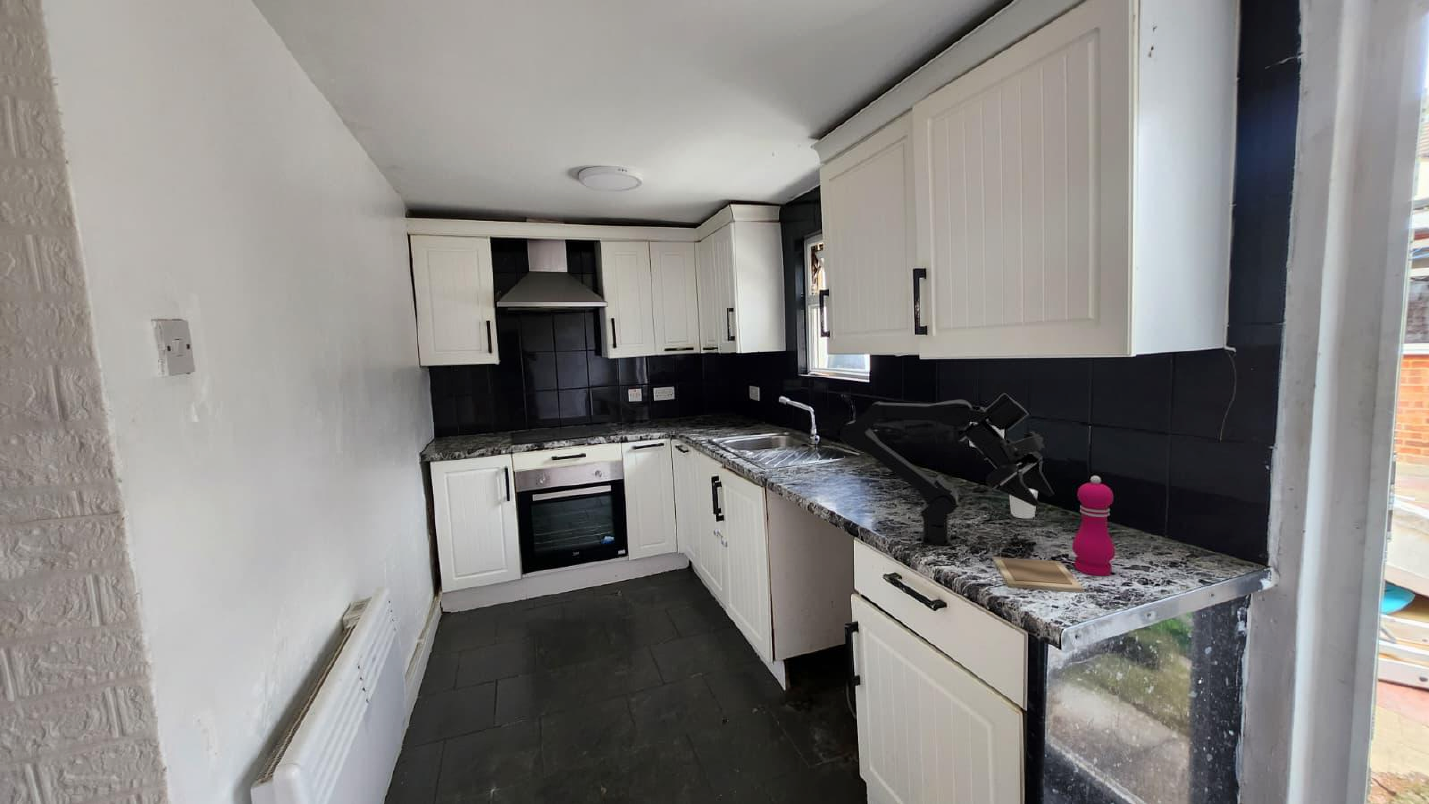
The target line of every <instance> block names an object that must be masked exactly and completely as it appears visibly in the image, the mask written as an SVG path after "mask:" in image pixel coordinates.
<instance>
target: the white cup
mask: <svg viewBox="0 0 1429 804" xmlns="http://www.w3.org/2000/svg"><path fill="white" fill-rule="evenodd" d="M1028 488H1029V487H1028ZM1029 490H1030V491H1031V492H1032V494H1033V495H1034V496H1035V498H1036V499H1037V500H1038V494H1039V490H1037V489H1035V488H1029ZM1008 495H1009V494H1008ZM1009 506H1010V515H1011V514H1012V515H1013V516H1012V515H1011V516H1012V517H1015V518H1019V519H1027V520H1028V519H1034V518H1035V516H1036V509H1037V506H1033V505H1031V504H1029V503H1026V502H1024V501H1022V500H1020V499H1018V498H1016V497H1014V496H1011V495H1009ZM1033 517H1034V518H1033Z"/></svg>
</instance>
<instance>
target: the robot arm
mask: <svg viewBox="0 0 1429 804" xmlns="http://www.w3.org/2000/svg"><path fill="white" fill-rule="evenodd" d="M1028 416H1030V413H1029V412H1027V410H1026V409H1025V408H1024V407H1023V406H1022V405H1020V404H1019V402H1018V401H1015V400H1014V399H1013V398H1011V397H1010V395H1008V394H1007V393H1005V392H1004V393H1002V394H1001V395H1000V396H998V398H997V399H996V400H995V401H994V402H993V403H991V404H990V405H989V406H988V407H983V406H978V405H972V404H971V403H970V402H968V401H967V400H965V399H954V400H946V401H941V402H936V403H934V402H933V403H906V402H905V403H904V402H903V403H901V402H884V401H883V402H882V401H876V402H874V403H873V404H871V405H870V407H869V408H868V409H867V410H866V411H865V412H864V413H863V414H862V415H860V416H859V417H858V418H857V419H856V420H855V419H854V420H852V421H849V422H848V423H846V424H844V426H842V427H841V429H840V433H839V434H840V440H841V442H842V443H843V444H845V445H846V446H849V448H852V449H854V450H856V451H858V452H861V453H864V454H867V455H869V456H871V457H872V458H873V459H874V460H876V461H877V462H878V463H880V464H881V465H883V466H884V467H885V468H886V469H888V470H889V471H890V472H892V473H893V474H894V475H895V476H897V477H899V478H900V479H901V480H902V481H904V482H906V483H907V484H908V485H909V486H911V487H912V488H913V489H915V490H916V491H917V492H918V493H919V495H920V496H921V498H922V499H923V501H924V503H923V506H922V509H921V511H920V515H921V517H922V532H920V533H919V535H920V539H921V542H922V544H923V545H936V546H937V545H938V546H952V541H951V538H950V536H949V514H952V513H954V512H955V510H956V508H957V505H958V500H959V494H958V491H957V489H955V488H954V483H951V482H949V481H947V480H946V479H945V478H944V477H943V476H942V475H940V474H938V475H937V477H936V478H935V477H931V476H929V475H927V474H925V473H924V472H922V470H920V469H919V468H917V467H915V465H914V464H912V463H910V462H909V461H907V460H906V459H905V458H904V457H903V456H901V455H899V454H898V453H897V452H895V451H894V450H892V448H890V447H889V446H887V445H886V444H885V443H883V442H881V441H880V439H879V438H878V437H877V435H876V434H875V433H874V431H873V430H872V429H871V428H872V427H874V425H875V424H876V423H878V421H879V420H881V419H882V420H883V419H884V420H885V419H888V420H909V421H911V420H912V421H914V420H915V421H916V420H917V421H930V422H935V423H938V424H943V425H947V426H951V427H955V428H963V427H965V426H966V427H965V428H963V429H957V430H956V432H957V436H956V441H958V442H963V441H965V440H966V439H968V441H970V443H971V444H972V445H974V447H975V448H976V449H977V450H978V451H979V452H980V453H981V454H982V455H981V456H980V458H981V459H982V460H983V461H985V460H988V461H989V463H991V465H992V466H993V467H994V468H995V469H994V470H992V471H991V472H990V473H989V474H987V475H986V477H985V484H987V485H988V487H989V488H991V490H994V489H995V490H996V491H998V492H1002V493H1003V494H1007V495H1011V496H1014V497H1016V498H1018V499H1020V500H1022V501H1024V502H1026V503H1029V504H1031V505H1033V506H1036V507H1037V506H1038V505H1039V504H1040V502H1039V501H1038V498H1037V499H1036V498H1035V496H1034V495H1033V494H1032V492H1031V491H1030V490H1029V487H1028V486H1027V484H1028V485H1029V486H1031V487H1033V489H1035V490H1036V491H1038V492H1040V493H1042V494H1044V495H1046V496H1048V497H1052V496H1053V495H1054V491H1053V489H1052V488H1051V485H1050V484H1049V482H1048V481H1047V479H1046V477H1045V475H1044V474H1043V471H1042V468H1043V463H1044V461H1043V458H1044V456H1043V455H1042V454H1040V453H1039V451H1041V449H1045V445H1044V443H1043V440H1044V437H1042V436H1041V435H1040V433H1038V434H1037V433H1035V431H1033V430H1032V431H1029V432H1026V433H1024V434H1023V438H1022V439H1019V440H1017V441H1013V440H1012V439H1011V438H1008V437H1007V438H1004V436H1003V435H1001V434H1000V433H999V432H998V431H997V430H996V429H998V430H999V431H1004V430H1006V431H1007V432H1008V431H1009V430H1011V429H1013V427H1015V426H1016V425H1017V424H1019V423H1020V422H1021V421H1023V420H1024V419H1025V418H1026V417H1028ZM977 421H978V422H977ZM976 422H977V423H976ZM989 422H990V423H991V424H992V425H993V426H994V427H995V428H996V429H995V428H994V427H993V426H992V425H991V424H990V423H989ZM968 424H969V425H968ZM967 425H968V426H967ZM1025 483H1026V484H1025ZM998 486H999V487H998Z"/></svg>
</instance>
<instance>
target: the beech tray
mask: <svg viewBox="0 0 1429 804" xmlns="http://www.w3.org/2000/svg"><path fill="white" fill-rule="evenodd" d="M992 562H993V564H994V565H995V568H996V569H997V570H998V572H999V574H1000V575H1001V577H1002V579H1003V580H1004V583H1005V584H1006V586H1007V587H1008V588H1013V589H1014V588H1016V589H1026V590H1027V589H1028V590H1038V591H1039V590H1041V591H1055V592H1068V593H1082V594H1085V588H1084V587H1083V585H1081V583H1080V582H1079V581H1078V580H1077V579H1076V578H1075V576H1074V575H1073V574H1072V572H1070V571H1069V570H1068V568H1067V567H1066V566H1065V565H1064V564H1063V563H1062V562H1061V561H1060V560H1045V559H1030V558H1027V559H1026V558H1012V557H999V556H997V557H995V556H993V557H992Z"/></svg>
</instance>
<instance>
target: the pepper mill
mask: <svg viewBox="0 0 1429 804" xmlns="http://www.w3.org/2000/svg"><path fill="white" fill-rule="evenodd" d="M1101 479H1102V478H1101V477H1100V476H1098V475H1092V476H1091V478H1090V482H1087V483H1084V484H1082V485H1081V486H1080V487H1079V488H1078V490H1077V499H1078V501H1079V502H1080V503H1081V504H1080V505H1079V507H1080V509H1079V512H1080V513H1081V516H1082V518H1081V525H1080V527H1079V529H1078V532H1077V533H1076V535H1075V536H1074V539H1073V542H1072V546H1071V547H1072V548H1071V549H1072V552H1074V554H1075V555H1076V557H1075V558H1074V568H1075V569H1076V571H1079V572H1081V573H1084V574H1087V575H1091V576H1097V577H1098V576H1099V577H1104V576H1105V577H1106V576H1109V575H1111V574H1112V566H1113V565H1112V564H1111V562H1110V561H1112V560H1113V559H1114V558H1115V556H1116V548H1115V544H1114V542H1113V539H1112V538H1111V537H1112V536H1110V533H1109V530H1108V525H1107V520H1108V516H1110V515H1111V514H1110V511H1111V509H1110V506H1111V505H1112V504H1113V502H1114V494H1113V491H1112V489H1111V488H1110V487H1109V486H1107V485H1105V484H1103V483H1101V482H1102V480H1101Z"/></svg>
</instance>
